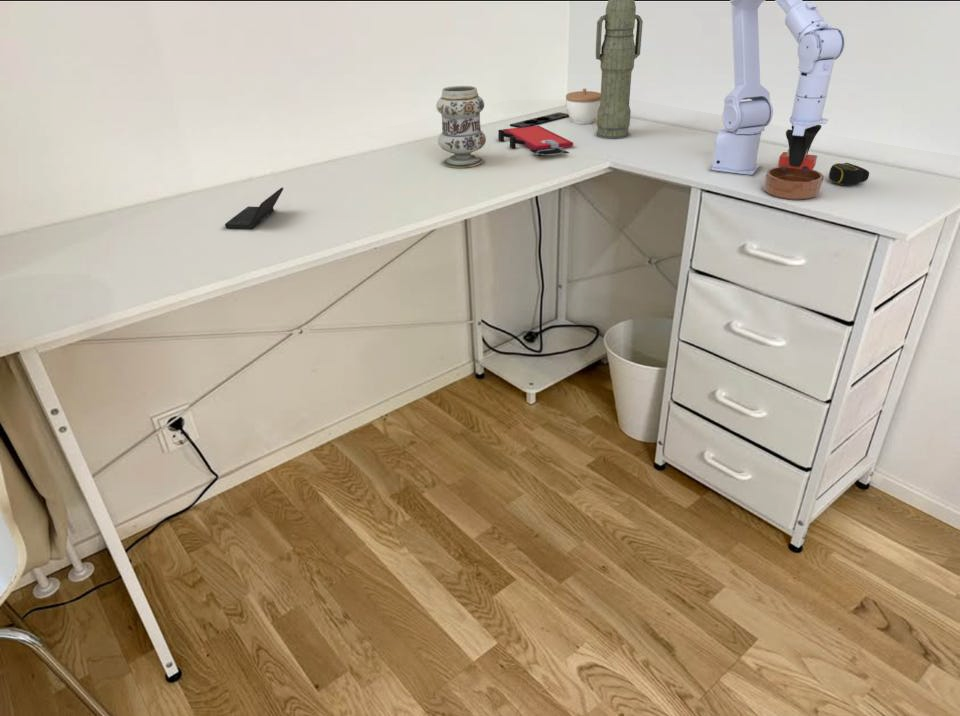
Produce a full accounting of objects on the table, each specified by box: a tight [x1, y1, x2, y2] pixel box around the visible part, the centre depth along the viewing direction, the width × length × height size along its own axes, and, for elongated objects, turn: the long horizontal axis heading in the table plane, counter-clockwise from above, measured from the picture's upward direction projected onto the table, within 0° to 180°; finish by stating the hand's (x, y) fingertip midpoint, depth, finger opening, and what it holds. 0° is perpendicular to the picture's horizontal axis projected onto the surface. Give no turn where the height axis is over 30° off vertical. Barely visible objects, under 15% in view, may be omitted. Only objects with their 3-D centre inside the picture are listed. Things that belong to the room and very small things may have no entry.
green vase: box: [595, 0, 644, 140], centre depth 187 cm, size 9×12×35 cm
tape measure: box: [828, 162, 870, 186], centre depth 153 cm, size 7×7×4 cm
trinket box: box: [565, 88, 601, 125], centre depth 208 cm, size 11×11×9 cm
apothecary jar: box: [435, 85, 487, 169], centre depth 173 cm, size 12×12×18 cm
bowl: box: [763, 166, 824, 201], centre depth 149 cm, size 11×11×4 cm
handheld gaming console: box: [224, 187, 284, 230], centre depth 145 cm, size 12×7×10 cm
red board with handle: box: [497, 125, 574, 157], centre depth 189 cm, size 30×3×15 cm
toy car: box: [777, 148, 818, 173], centre depth 147 cm, size 7×4×4 cm, turn 59°
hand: (797, 163), depth 147 cm, fingers closed on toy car, 4 cm apart
